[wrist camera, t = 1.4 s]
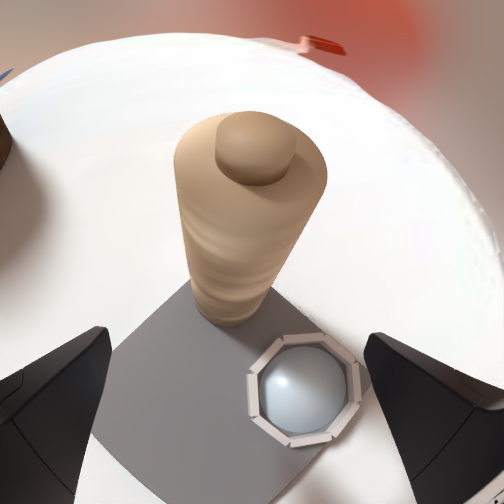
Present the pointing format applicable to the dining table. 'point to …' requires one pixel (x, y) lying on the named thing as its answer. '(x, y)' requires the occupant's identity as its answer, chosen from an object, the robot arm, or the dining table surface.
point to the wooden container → (4, 141)
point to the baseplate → (225, 401)
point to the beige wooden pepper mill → (243, 207)
